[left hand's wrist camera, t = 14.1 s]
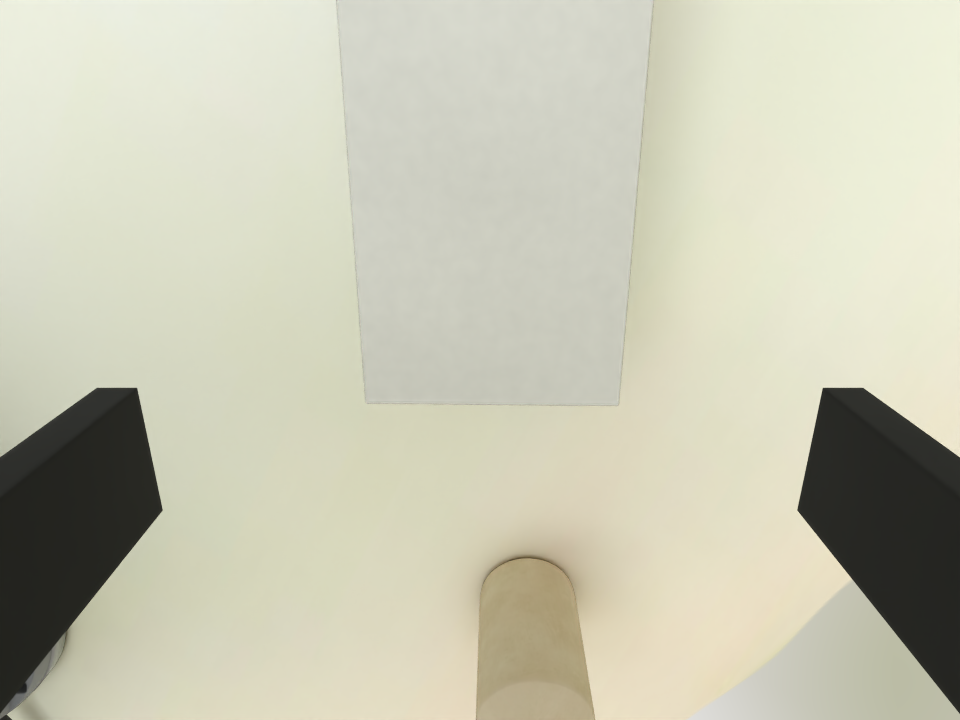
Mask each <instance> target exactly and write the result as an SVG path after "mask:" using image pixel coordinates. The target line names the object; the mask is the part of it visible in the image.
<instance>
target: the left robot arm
mask: <svg viewBox="0 0 960 720" xmlns="http://www.w3.org/2000/svg"><path fill="white" fill-rule="evenodd" d="M161 512H162V505H161V500H160V495H159V491H158V486H157V481H156V476H155V471H154V467H153V462H152V457H151V452H150V448H149V443H148V438H147V433H146V428H145V424H144V419H143V414H142V409H141V405H140V400H139V395H138V390H137V388H96V389H95V390H93V391H92V392H91V393H89V394H88V395H86V396H85V397H84V398H82V399H81V400H80V401H78V402H77V403H75V404H74V405H73V406H71V407H70V408H68V409H67V410H66V411H64V412H63V413H61V414H60V415H59V416H57V417H56V418H54V419H53V420H52V421H50V422H49V423H47V424H46V425H45V426H43V427H42V428H41V429H39V430H38V431H36V432H35V433H34V434H32V435H31V436H29V437H28V438H27V439H25V440H24V441H22V442H21V443H20V444H18V445H17V446H15V447H14V448H13V449H11V450H10V451H8V452H7V453H6V454H4V455H3V456H2V457H0V720H12V719H11V718H10V717H8V716H7V715H6V714H8V713H9V712H10V711H12V710H13V709H14V708H16V707H17V706H18V705H20V704H21V703H22V702H23V701H24V700H25V699H26V698H27V697H28V696H29V695H30V694H31V693H32V692H33V691H34V690H35V689H36V688H37V687H38V686H39V685H40V684H41V682H42V681H43V680H44V679H45V677H46V676H47V675H48V673H49V672H50V671H51V670H52V668H53V667H54V666H55V664H56V663H57V661H58V659H59V657H60V655H61V653H62V650H63V647H64V643H65V636H66V631H67V629H68V628H69V627H70V626H71V624H72V623H73V622H74V621H75V619H76V618H77V617H78V616H79V614H80V613H81V612H82V611H83V609H84V608H85V607H86V606H87V604H88V603H89V602H90V601H91V599H92V598H93V597H94V596H95V594H96V593H97V592H98V591H99V589H100V588H101V587H102V586H103V584H104V583H105V582H106V581H107V579H108V578H109V577H110V576H111V574H112V573H113V572H114V571H115V569H116V568H117V567H118V566H119V564H120V563H121V562H122V561H123V559H124V558H125V557H126V556H127V554H128V553H129V552H130V551H131V549H132V548H133V547H134V546H135V544H136V543H137V542H138V540H139V539H140V538H141V537H142V535H143V534H144V533H145V532H146V530H147V529H148V528H149V527H150V525H151V524H152V523H153V522H154V520H155V519H156V518H157V517H158V515H159V514H160V513H161ZM798 512H799V513H800V514H801V515H802V517H803V518H804V519H805V520H806V522H807V523H808V524H809V525H810V527H811V528H812V529H813V530H814V532H815V533H816V534H817V535H818V537H819V538H820V539H821V540H822V542H823V543H824V544H825V546H826V547H827V548H828V549H829V551H830V552H831V553H832V554H833V556H834V557H835V558H836V559H837V561H838V562H839V563H840V564H841V566H842V567H843V568H844V569H845V571H846V572H847V573H848V574H849V576H850V577H851V578H852V579H853V581H854V582H855V583H856V584H857V586H858V587H859V588H860V589H861V591H862V592H863V593H864V594H865V596H866V597H867V598H868V599H869V601H870V602H871V603H872V604H873V606H874V607H875V608H876V609H877V611H878V612H879V613H880V614H881V616H882V617H883V618H884V619H885V621H886V622H887V623H888V624H889V626H890V627H891V628H892V629H893V631H894V632H895V633H896V634H897V636H898V637H899V638H900V639H901V641H902V642H903V643H904V644H905V646H906V647H907V648H908V649H909V651H910V652H911V653H912V654H913V656H914V657H915V658H916V659H917V661H918V662H919V663H920V664H921V666H922V667H923V668H924V669H925V671H926V672H927V673H928V674H929V676H930V677H931V678H932V679H933V681H934V682H935V683H936V684H937V686H938V687H939V688H940V689H941V691H942V692H943V693H944V694H945V696H946V697H947V698H948V700H949V701H950V702H951V703H952V705H953V706H954V707H955V708H956V709H957V711H958V712H959V713H960V457H958V456H957V455H956V454H954V453H953V452H951V451H950V450H949V449H947V448H946V447H945V446H943V445H942V444H940V443H939V442H938V441H936V440H935V439H933V438H932V437H931V436H929V435H928V434H926V433H925V432H924V431H922V430H921V429H919V428H918V427H917V426H915V425H914V424H913V423H911V422H910V421H908V420H907V419H906V418H904V417H903V416H901V415H900V414H899V413H897V412H896V411H894V410H893V409H892V408H890V407H889V406H887V405H886V404H885V403H883V402H882V401H880V400H879V399H878V398H876V397H875V396H874V395H872V394H871V393H869V392H868V391H867V390H865V389H864V388H823V390H822V395H821V400H820V405H819V409H818V414H817V419H816V424H815V428H814V433H813V438H812V443H811V448H810V452H809V457H808V462H807V467H806V471H805V476H804V481H803V486H802V491H801V495H800V500H799V505H798Z"/></svg>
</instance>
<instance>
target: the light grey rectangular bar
mask: <svg viewBox="0 0 960 720" xmlns="http://www.w3.org/2000/svg"><path fill="white" fill-rule="evenodd" d="M336 4H337V17H338V31H339V45H340V59H341V73H342V86H343V100H344V114H345V128H346V142H347V156H348V169H349V183H350V197H351V211H352V225H353V239H354V252H355V266H356V280H357V294H358V308H359V321H360V335H361V349H362V363H363V377H364V391H365V402H366V403H367V404H467V405H571V406H618V405H619V399H620V387H621V375H622V364H623V352H624V341H625V329H626V318H627V306H628V295H629V283H630V271H631V260H632V248H633V237H634V225H635V214H636V202H637V190H638V179H639V167H640V156H641V144H642V133H643V121H644V110H645V98H646V86H647V75H648V63H649V52H650V40H651V29H652V17H653V5H654V0H336Z"/></svg>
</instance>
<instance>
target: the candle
mask: <svg viewBox="0 0 960 720" xmlns="http://www.w3.org/2000/svg"><path fill="white" fill-rule="evenodd" d="M476 720H595V715H594V709H593V703H592V697H591V691H590V685H589V678H588V672H587V666H586V660H585V654H584V648H583V642H582V635H581V629H580V623H579V617H578V611H577V605H576V599H575V594H574V590H573V587H572V584H571V582H570V580H569V578H568V577H567V576H566V574H565V573H564V572H563V571H562V570H561V569H559V568H558V567H557V566H555V565H553V564H551V563H549V562H546V561H543V560H539V559H532V558H522V559H516V560H512V561H509V562H506V563H504V564H502V565H500V566H499V567H497V568H496V569H494V570H493V571H492V572H491V573H490V574H489V575H488V577H487V578H486V580H485V582H484V584H483V587H482V590H481V595H480V610H479V640H478V671H477V701H476Z"/></svg>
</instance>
